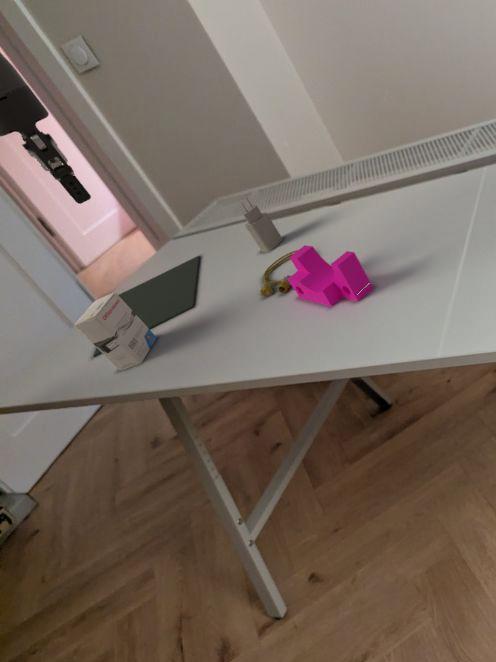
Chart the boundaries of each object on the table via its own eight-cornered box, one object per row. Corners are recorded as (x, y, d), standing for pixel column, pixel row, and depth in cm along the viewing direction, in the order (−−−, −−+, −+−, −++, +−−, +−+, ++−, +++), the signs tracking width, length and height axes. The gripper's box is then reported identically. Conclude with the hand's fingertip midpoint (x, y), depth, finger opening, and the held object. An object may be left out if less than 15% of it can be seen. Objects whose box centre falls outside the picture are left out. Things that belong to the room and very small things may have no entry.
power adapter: (284, 239, 126) (255, 192, 118) (270, 252, 122) (240, 205, 115) (275, 240, 127) (246, 194, 120) (261, 253, 124) (230, 206, 117)
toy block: (300, 298, 99) (278, 265, 94) (324, 278, 102) (304, 245, 97) (348, 311, 89) (326, 274, 85) (373, 289, 92) (354, 252, 88)
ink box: (137, 345, 108) (93, 299, 101) (158, 337, 107) (116, 290, 100) (119, 372, 101) (71, 324, 94) (142, 364, 101) (95, 315, 94)
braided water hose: (241, 299, 108) (236, 291, 106) (288, 254, 117) (283, 246, 116) (283, 298, 101) (278, 290, 100) (329, 251, 111) (324, 242, 110)
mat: (194, 308, 112) (192, 306, 112) (95, 358, 110) (93, 355, 110) (200, 257, 136) (198, 255, 136) (118, 297, 134) (117, 295, 134)
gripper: (-28, 105, 80) (55, 204, 89) (-32, 104, 70) (62, 215, 79) (24, 84, 83) (98, 182, 92) (27, 80, 72) (111, 191, 82)
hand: (82, 197), depth 86 cm, fingers open, 8 cm apart
